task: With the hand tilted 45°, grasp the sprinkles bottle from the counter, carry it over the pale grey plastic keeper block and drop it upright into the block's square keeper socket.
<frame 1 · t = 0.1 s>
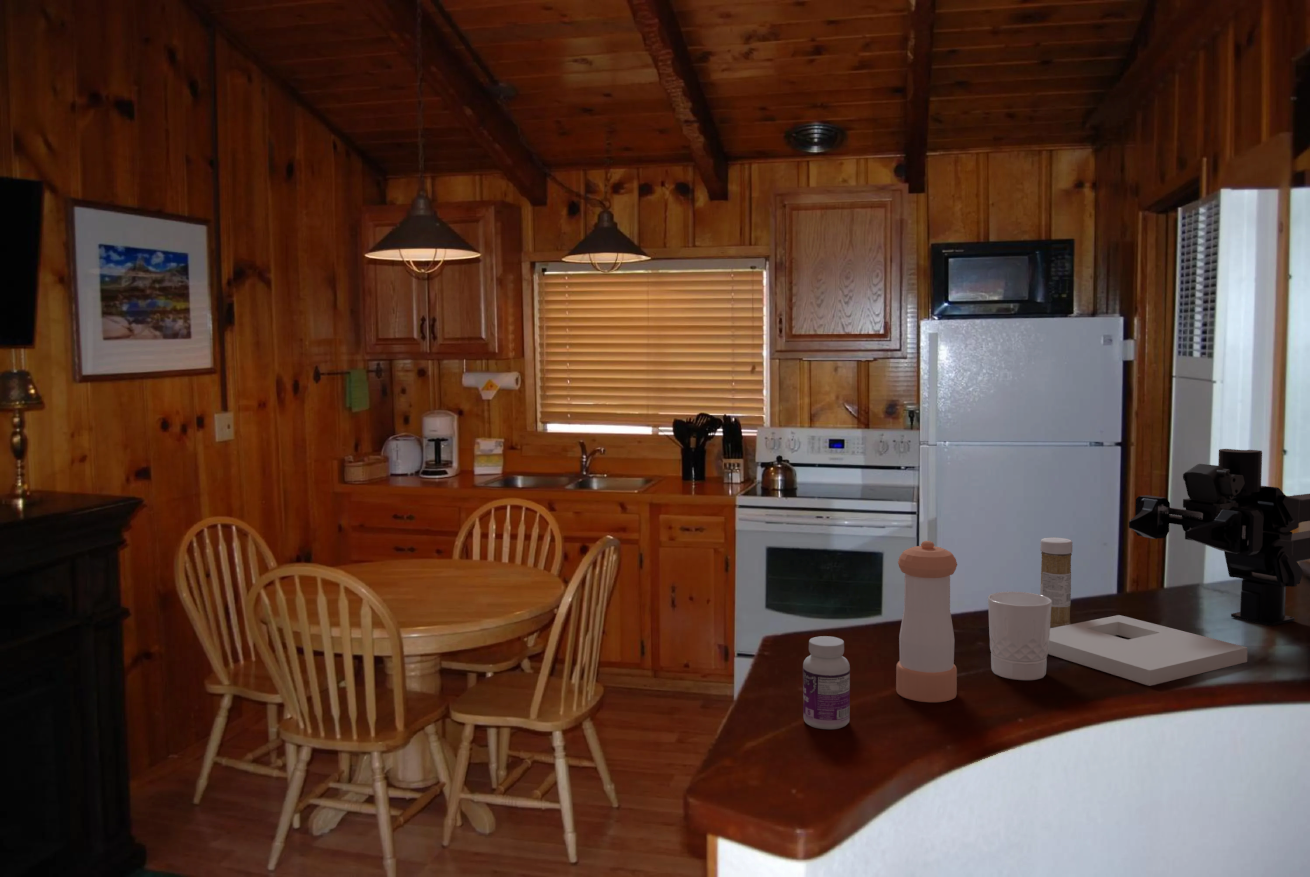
hand: (1157, 529, 147), 17 cm above the counter, tool horizontal, fingers open, 9 cm apart
pill bottle: (826, 724, 118), on the counter
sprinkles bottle: (1054, 626, 158), on the counter
pepper shaker: (926, 694, 128), on the counter
white cup: (1018, 674, 135), on the counter
keeper block: (1122, 644, 147), on the counter
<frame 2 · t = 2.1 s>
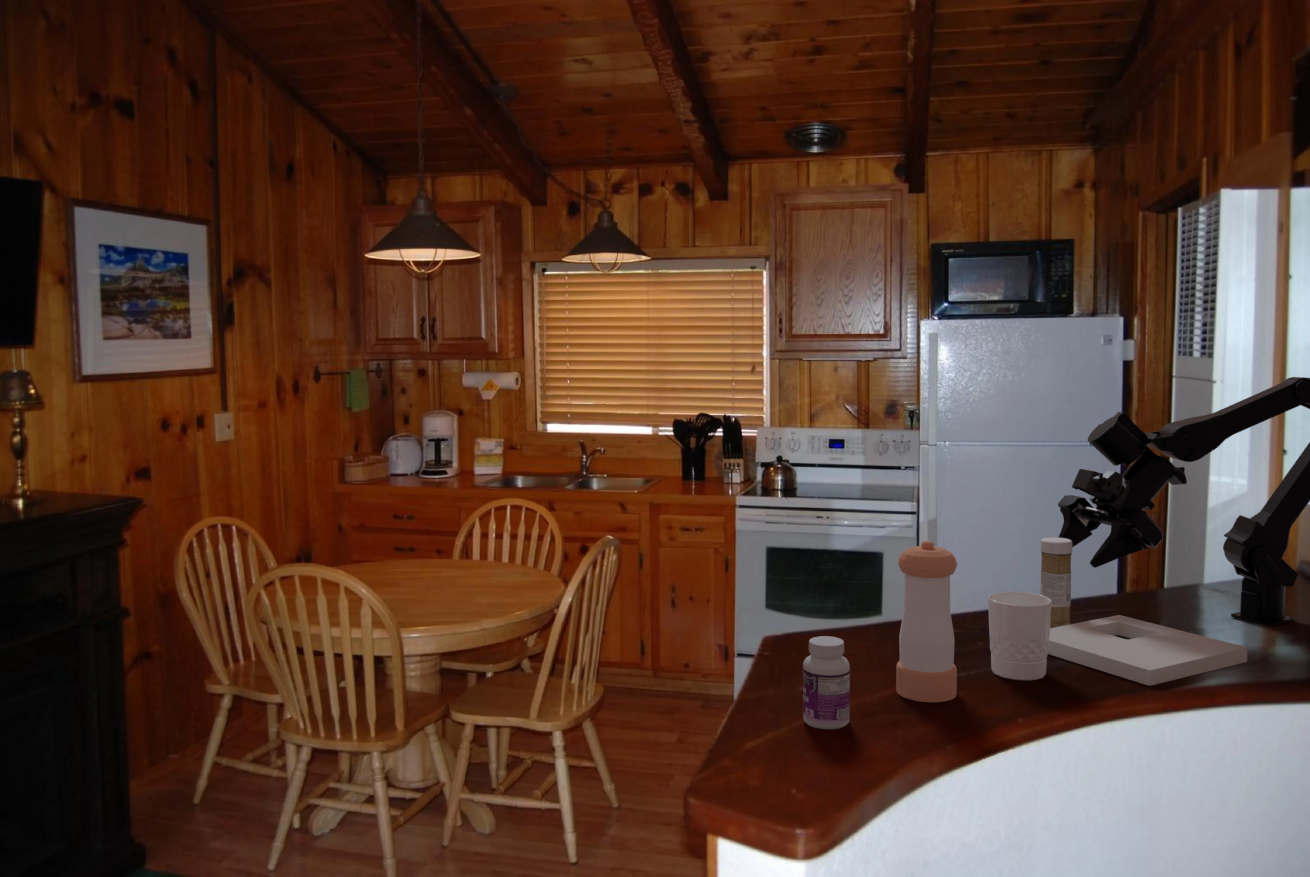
hand: (1073, 559, 158), 10 cm above the counter, tool tilted 45°, fingers open, 9 cm apart
nothing on the counter moved.
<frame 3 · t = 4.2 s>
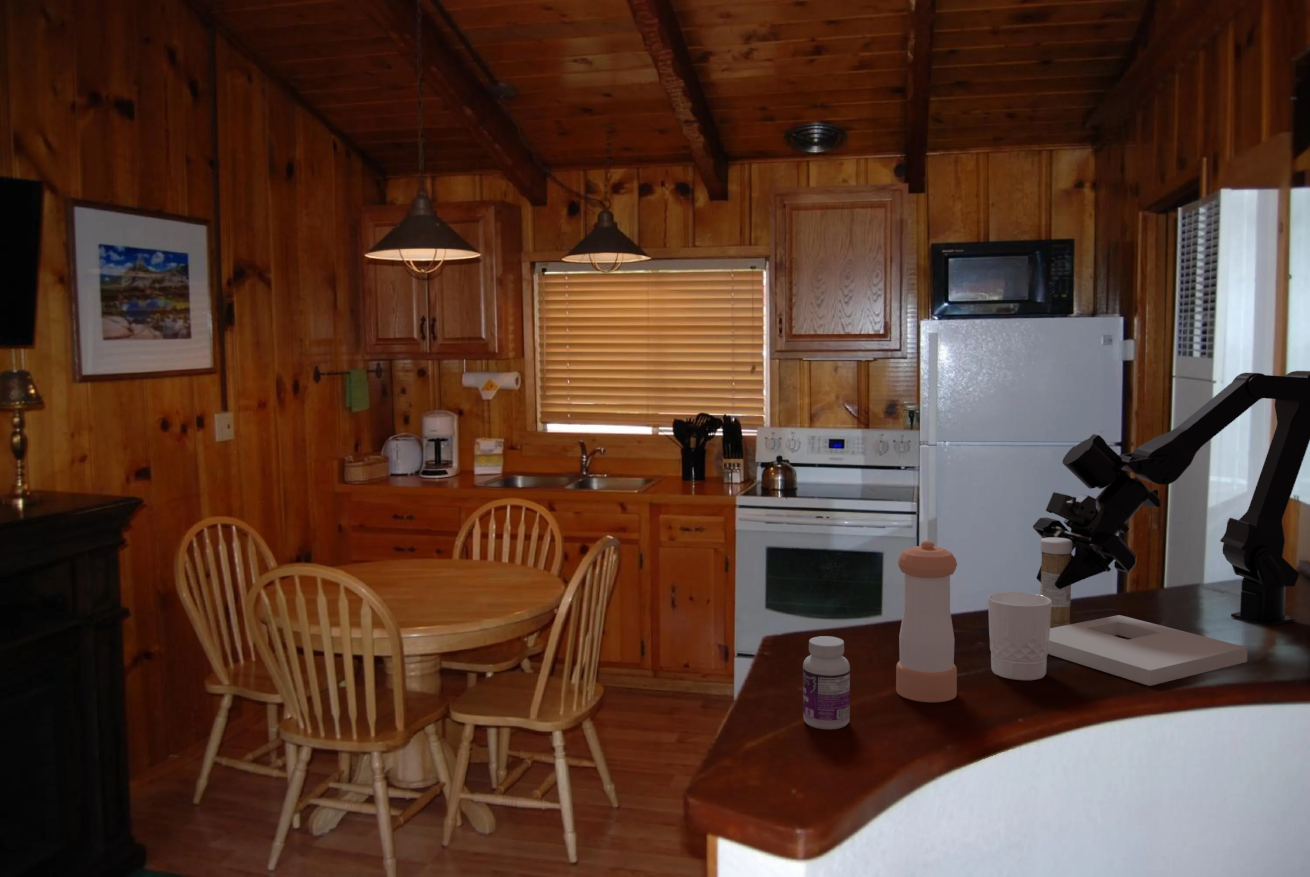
hand: (1047, 583, 157), 7 cm above the counter, tool tilted 45°, fingers closed on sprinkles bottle, 4 cm apart
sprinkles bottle: (1054, 626, 158), on the counter, touching gripper
everything else where it was.
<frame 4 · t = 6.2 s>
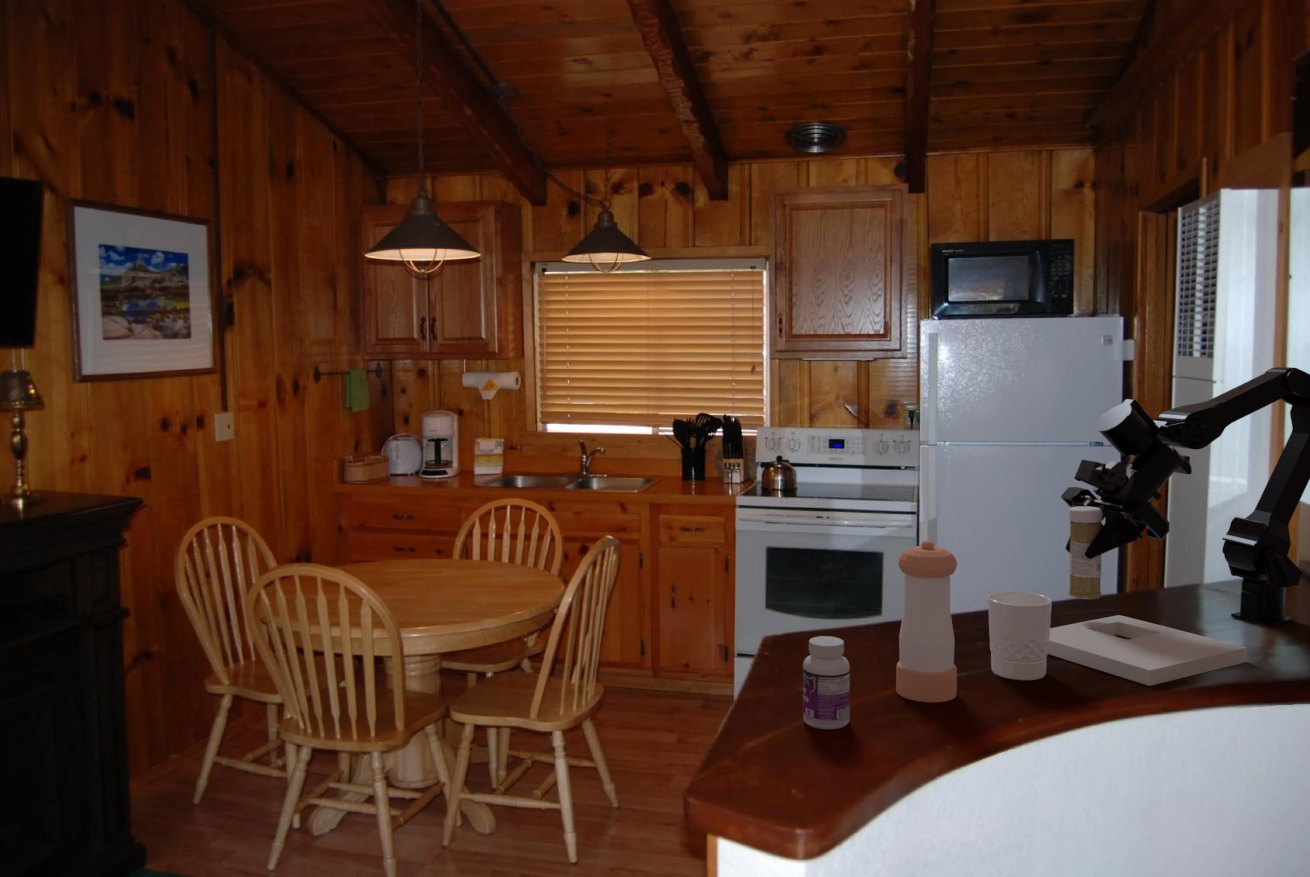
hand: (1077, 553, 152), 12 cm above the counter, tool tilted 45°, fingers closed on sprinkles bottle, 4 cm apart
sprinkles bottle: (1084, 597, 153), point 5 cm above the counter, touching gripper
everything else where it was.
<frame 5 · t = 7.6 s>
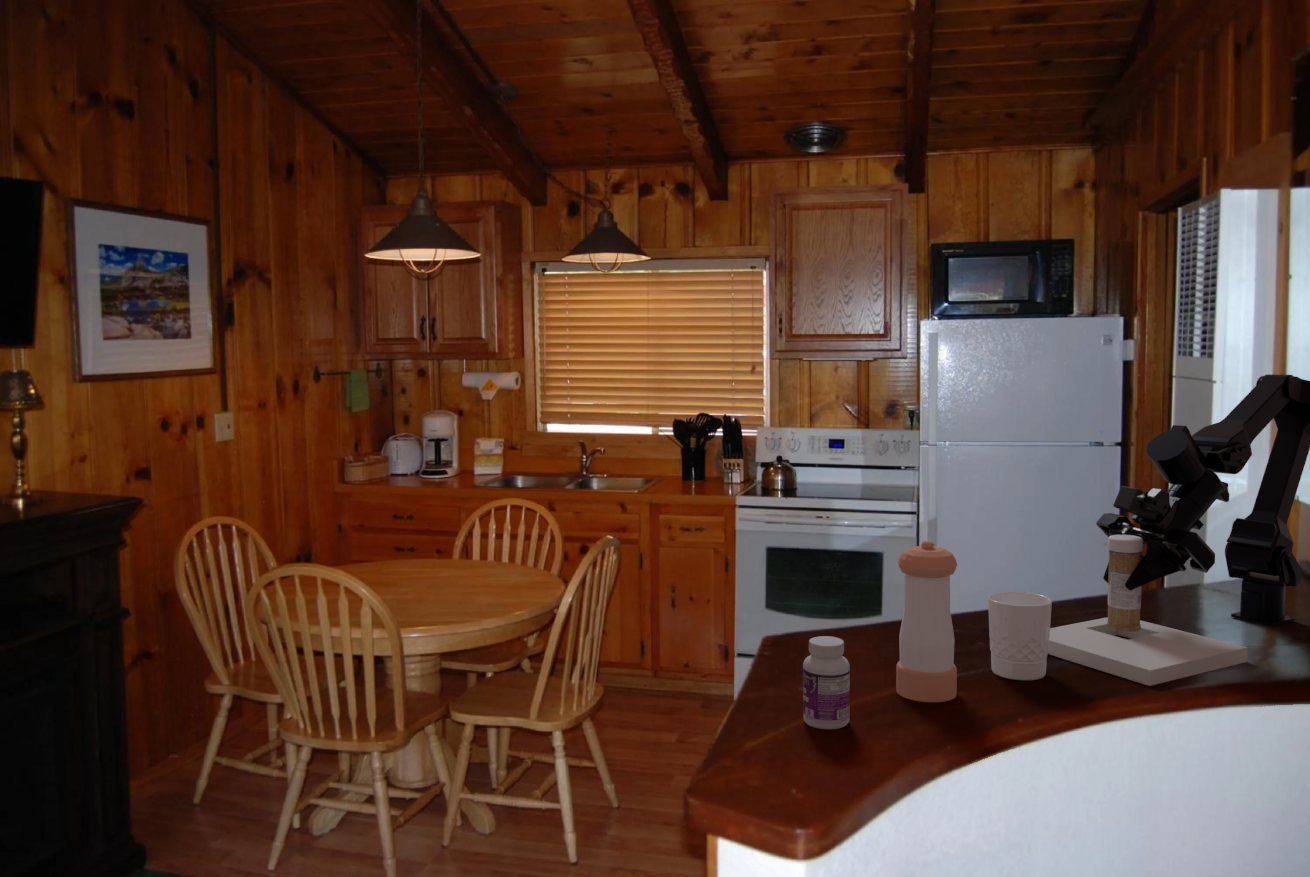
hand: (1116, 584, 146), 9 cm above the counter, tool tilted 45°, fingers closed on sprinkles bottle, 4 cm apart
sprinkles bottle: (1123, 630, 147), point 2 cm above the counter, touching gripper
everything else where it was.
when the fingers open (8 cm above the counter, at t = 8.5 s): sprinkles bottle drops 1 cm, resting in keeper block.
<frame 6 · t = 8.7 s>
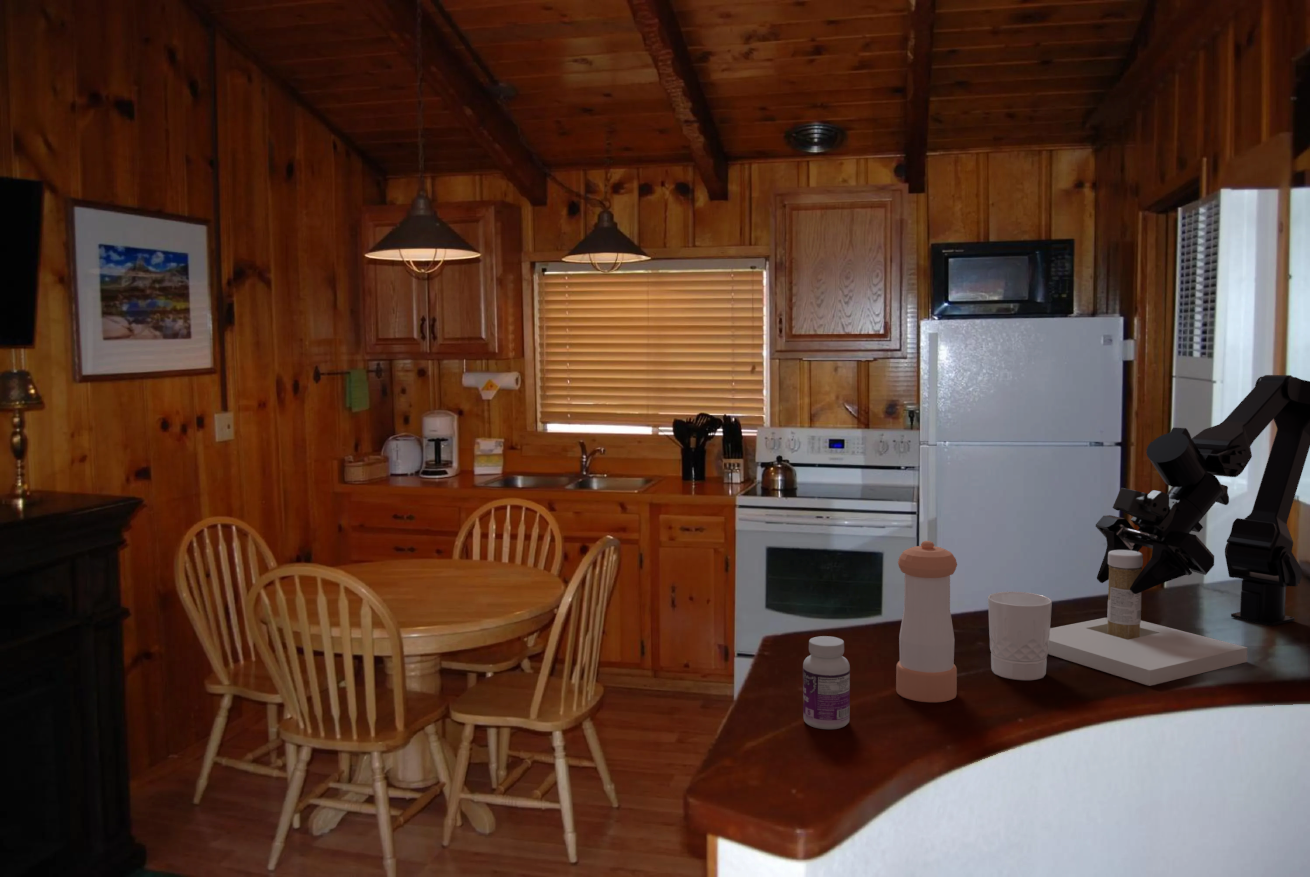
hand: (1115, 586, 146), 9 cm above the counter, tool tilted 45°, fingers open, 7 cm apart
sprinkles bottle: (1123, 645, 147), resting in keeper block
everything else where it was.
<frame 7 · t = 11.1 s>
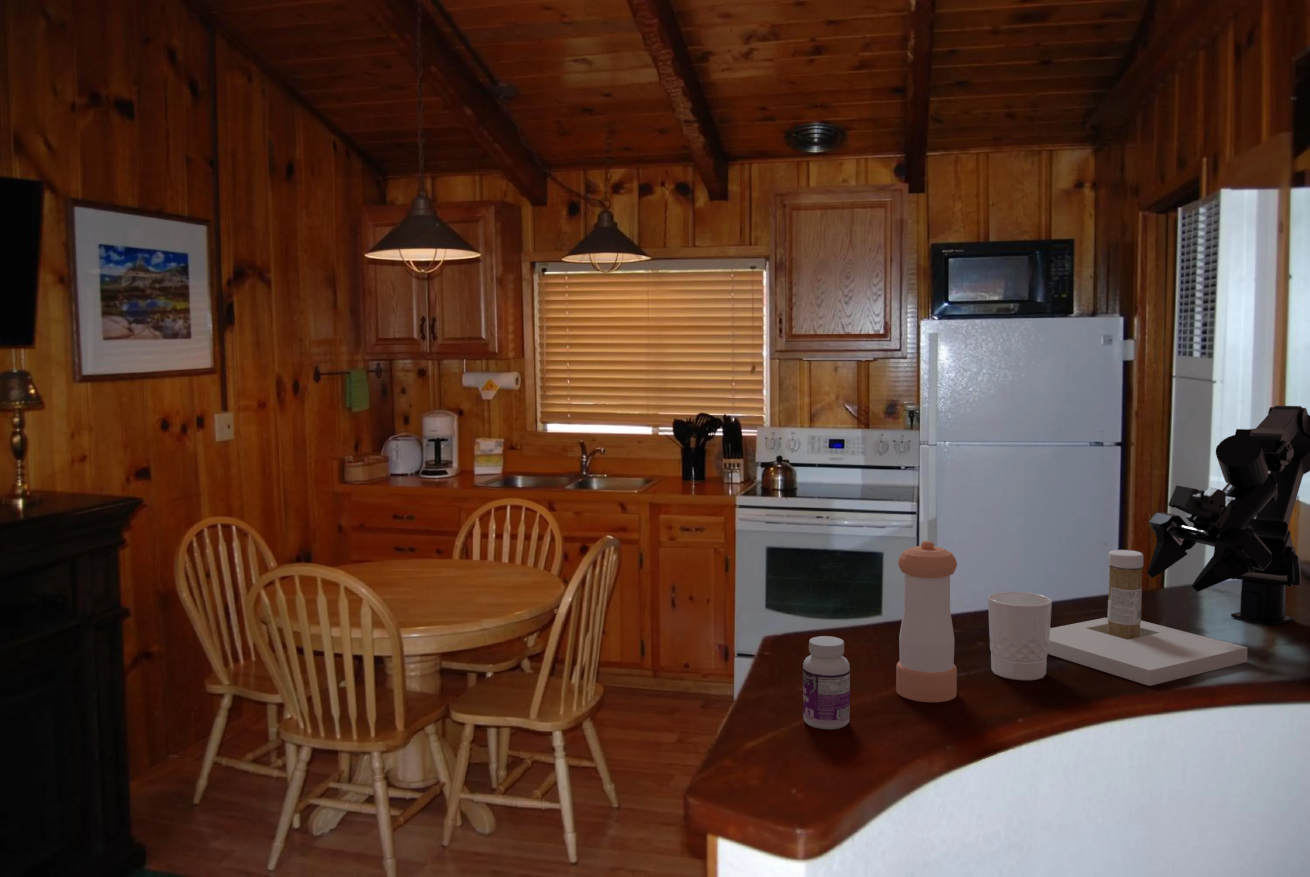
hand: (1171, 582, 148), 9 cm above the counter, tool tilted 45°, fingers open, 9 cm apart
nothing on the counter moved.
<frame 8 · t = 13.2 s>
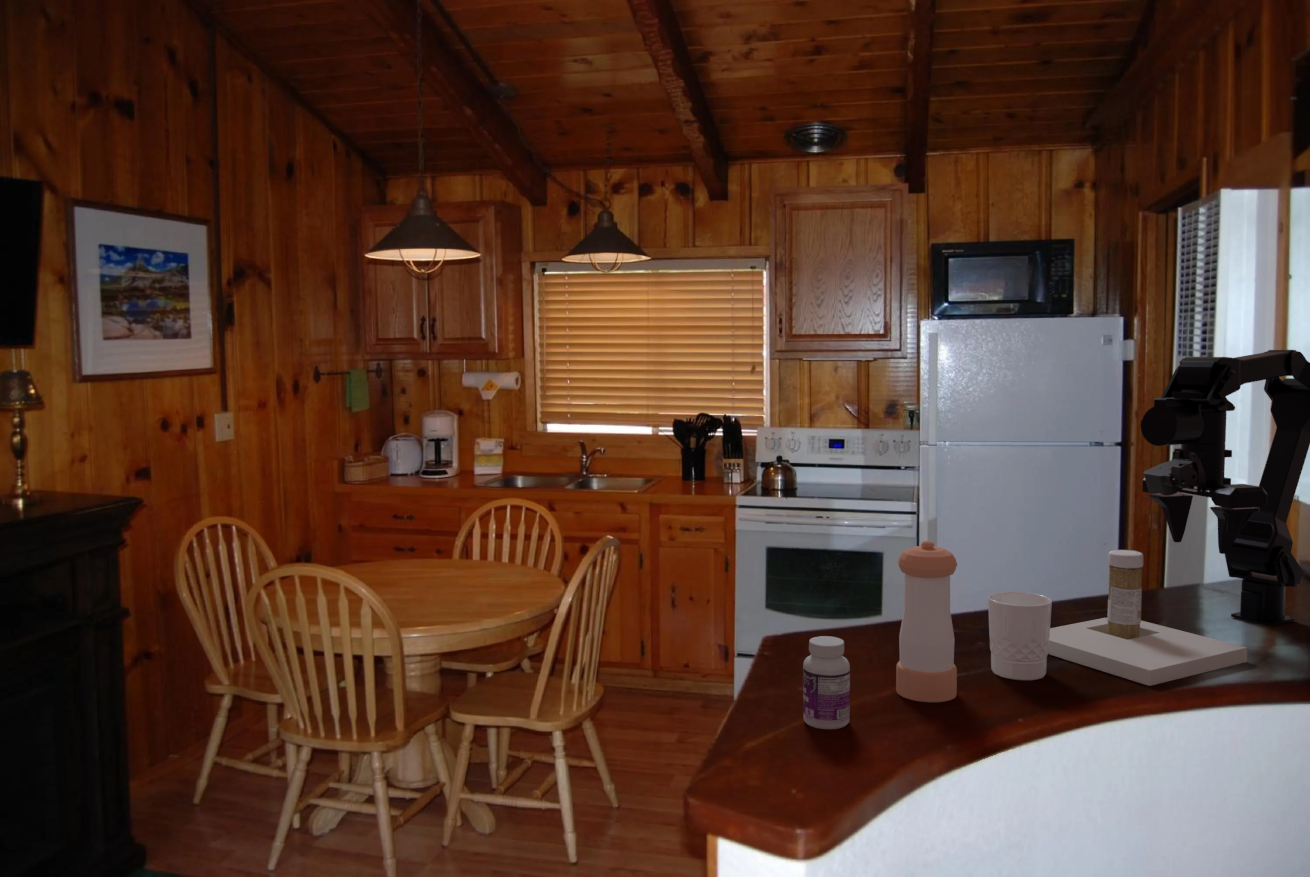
hand: (1199, 547, 151), 13 cm above the counter, tool pointing down, fingers open, 9 cm apart
nothing on the counter moved.
at the end: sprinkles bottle 0.2 cm off-centre on the keeper block, point 0.0 cm above the keeper block's base; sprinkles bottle tilted 0°; the gripper is holding nothing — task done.
